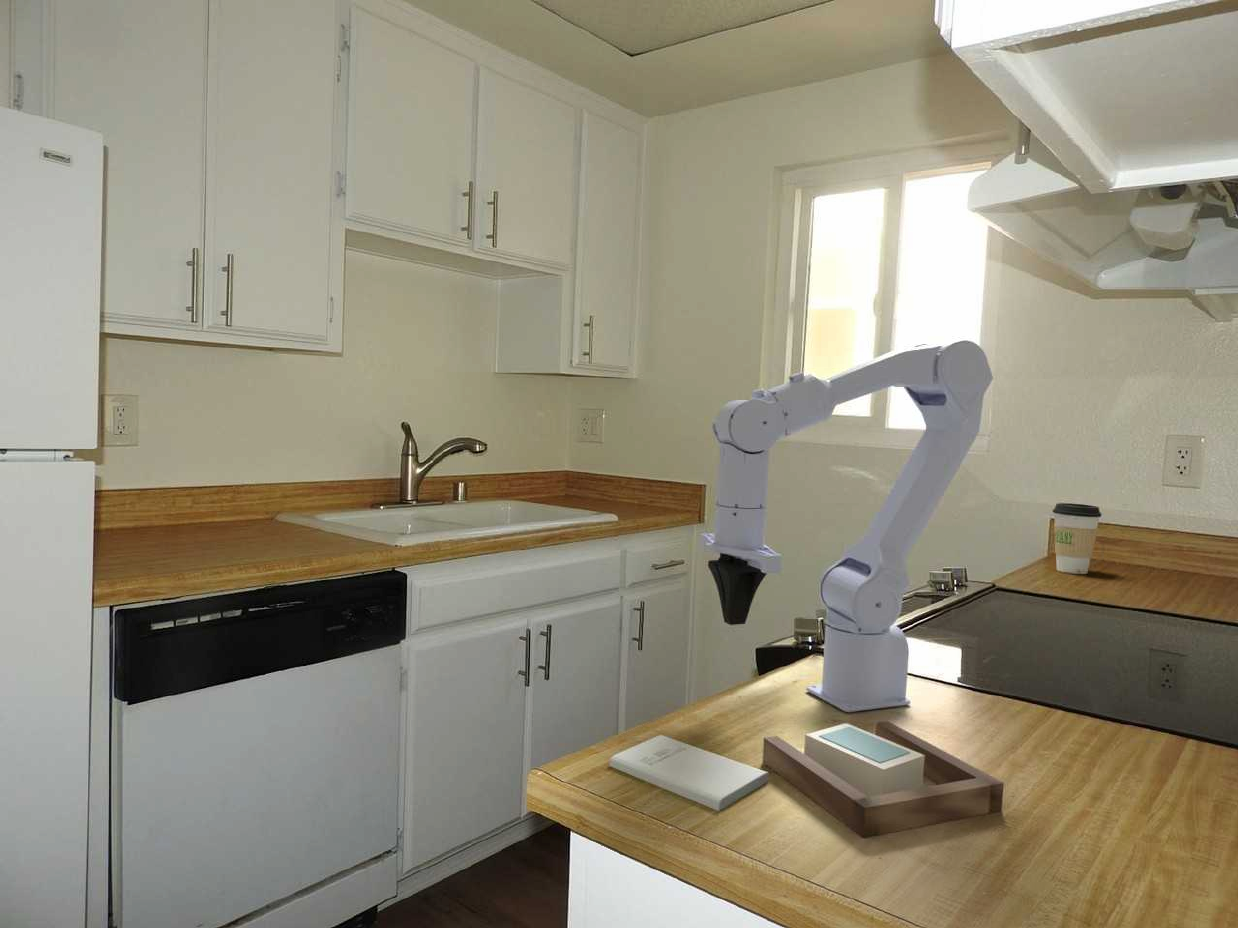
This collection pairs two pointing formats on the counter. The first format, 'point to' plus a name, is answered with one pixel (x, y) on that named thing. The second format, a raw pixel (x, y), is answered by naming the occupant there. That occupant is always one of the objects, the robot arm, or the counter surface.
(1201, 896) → the counter surface
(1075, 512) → the coffee cup
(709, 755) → the external hard drive
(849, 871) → the counter surface
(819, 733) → the card box
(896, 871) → the counter surface
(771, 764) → the frame
